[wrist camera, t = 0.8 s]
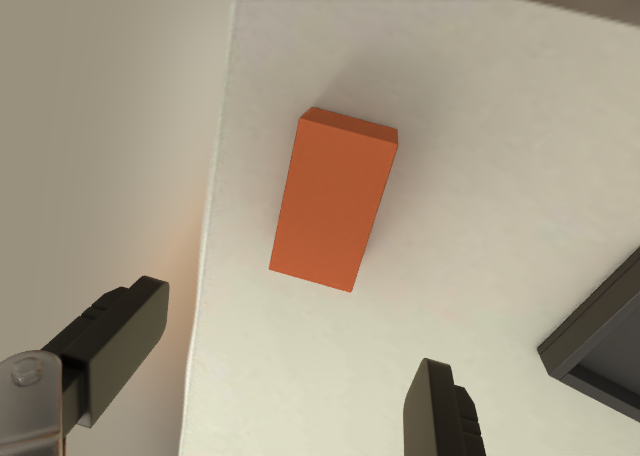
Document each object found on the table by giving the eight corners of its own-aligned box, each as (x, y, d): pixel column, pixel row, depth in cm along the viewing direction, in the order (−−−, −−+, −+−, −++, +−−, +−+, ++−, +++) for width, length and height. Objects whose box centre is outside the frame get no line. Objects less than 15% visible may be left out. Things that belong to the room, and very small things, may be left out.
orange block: (311, 106, 23) (299, 117, 20) (397, 129, 23) (398, 144, 20) (282, 243, 27) (268, 270, 24) (355, 263, 27) (351, 293, 24)
